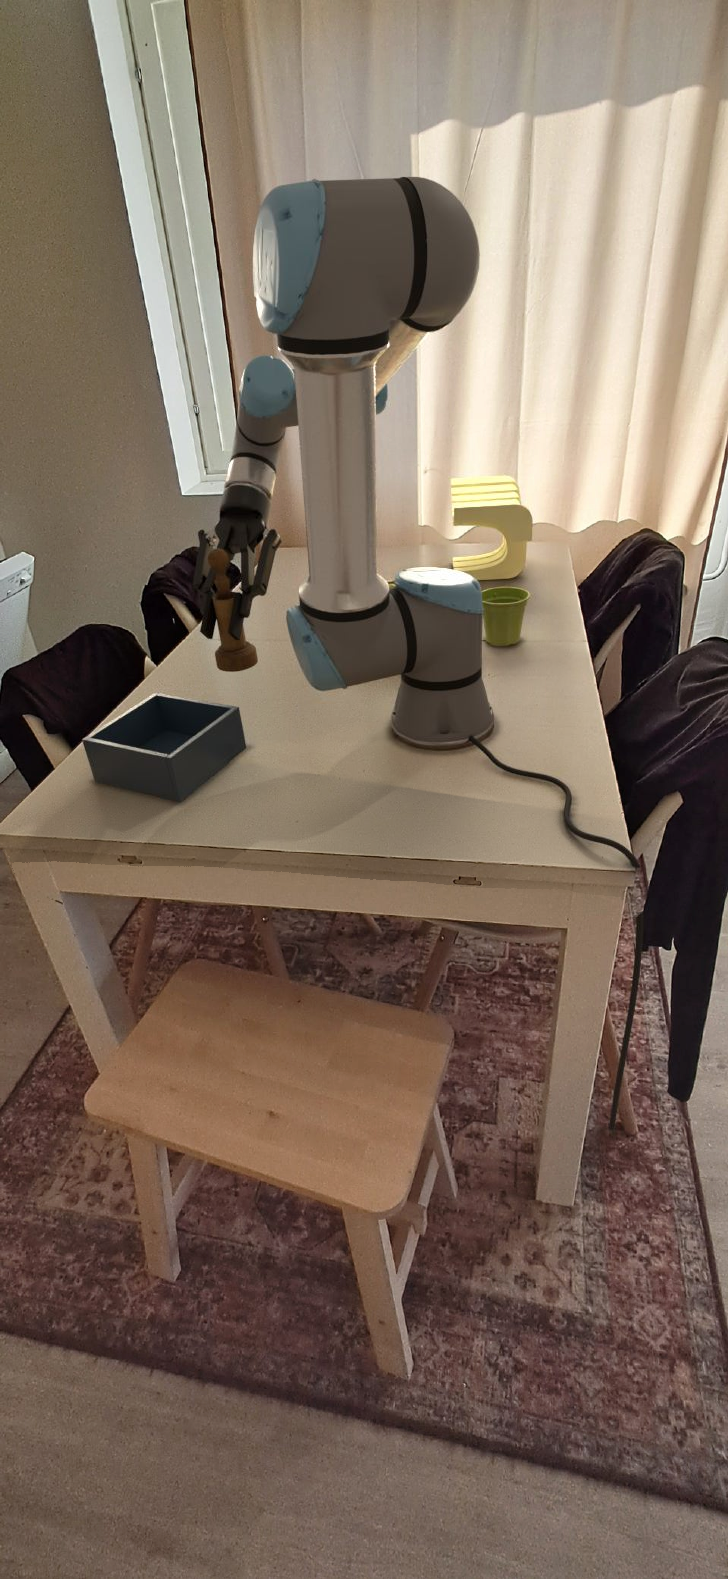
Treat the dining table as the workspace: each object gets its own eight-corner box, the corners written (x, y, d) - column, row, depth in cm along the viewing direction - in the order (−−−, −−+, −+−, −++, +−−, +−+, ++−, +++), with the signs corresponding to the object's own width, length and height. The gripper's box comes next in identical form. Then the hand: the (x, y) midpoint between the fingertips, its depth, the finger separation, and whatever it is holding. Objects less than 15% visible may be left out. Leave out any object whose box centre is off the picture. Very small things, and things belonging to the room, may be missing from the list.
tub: (246, 747, 114) (239, 706, 110) (180, 802, 102) (170, 758, 99) (165, 731, 120) (155, 692, 117) (94, 781, 109) (81, 739, 105)
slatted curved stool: (529, 589, 164) (533, 503, 155) (455, 593, 166) (453, 508, 156) (516, 550, 189) (519, 474, 180) (452, 554, 191) (450, 478, 181)
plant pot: (470, 648, 139) (470, 602, 135) (484, 629, 146) (484, 585, 142) (522, 652, 136) (523, 605, 131) (533, 633, 143) (535, 587, 138)
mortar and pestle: (250, 672, 118) (228, 555, 109) (210, 672, 120) (186, 556, 110) (263, 655, 124) (244, 542, 114) (225, 655, 125) (203, 544, 115)
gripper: (306, 509, 121) (281, 647, 116) (209, 511, 126) (182, 644, 121) (289, 480, 114) (261, 627, 109) (187, 483, 119) (157, 623, 114)
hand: (220, 635), depth 115 cm, fingers closed on mortar and pestle, 4 cm apart
